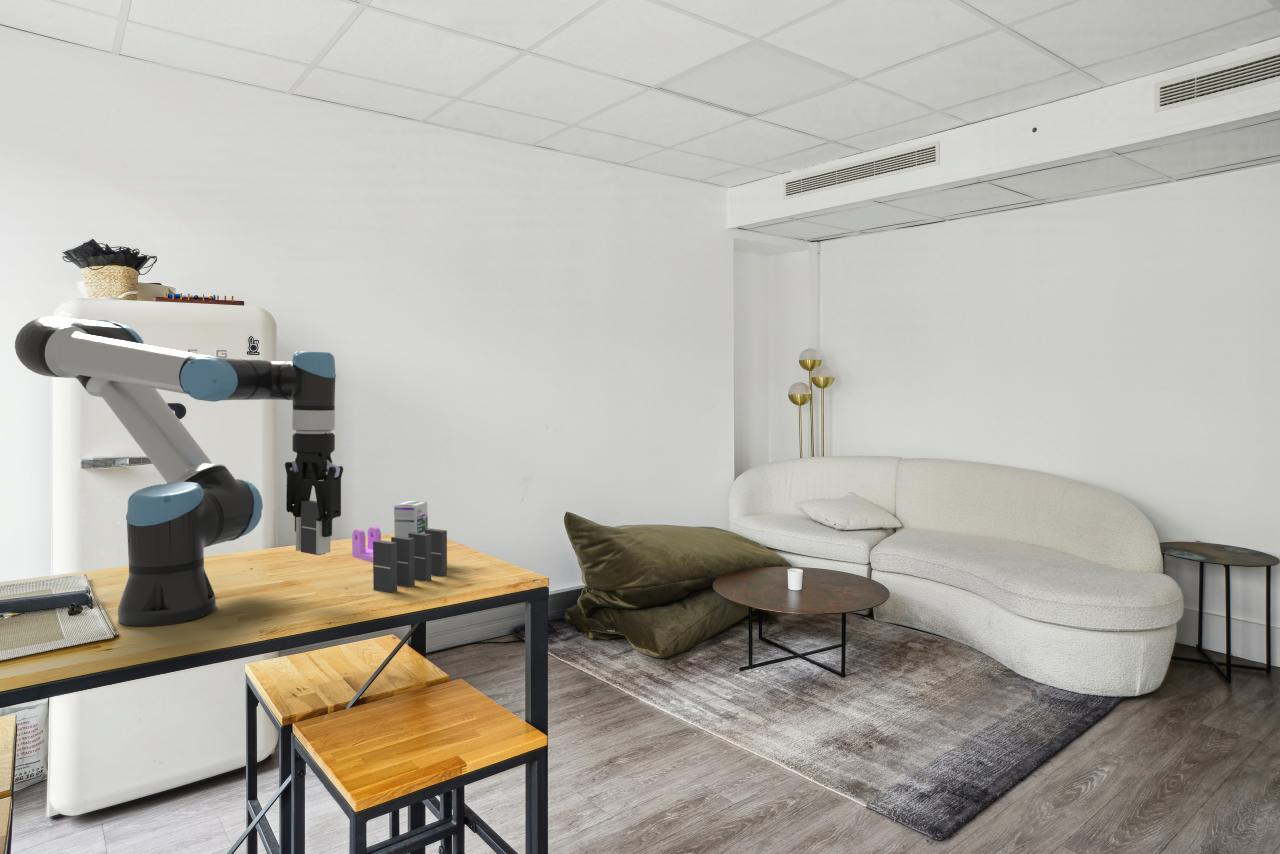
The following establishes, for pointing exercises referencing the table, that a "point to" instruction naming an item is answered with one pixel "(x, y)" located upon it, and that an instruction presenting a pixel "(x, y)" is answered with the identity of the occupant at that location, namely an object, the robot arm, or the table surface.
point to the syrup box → (410, 518)
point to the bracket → (359, 543)
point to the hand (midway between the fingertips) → (313, 551)
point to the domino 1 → (309, 526)
